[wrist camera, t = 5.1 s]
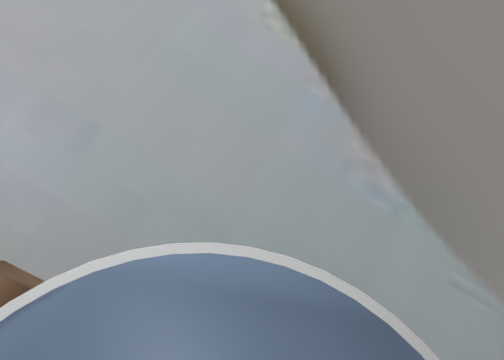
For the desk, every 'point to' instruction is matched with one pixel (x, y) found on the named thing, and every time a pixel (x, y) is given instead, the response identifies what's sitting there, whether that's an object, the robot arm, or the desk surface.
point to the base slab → (14, 282)
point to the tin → (201, 311)
